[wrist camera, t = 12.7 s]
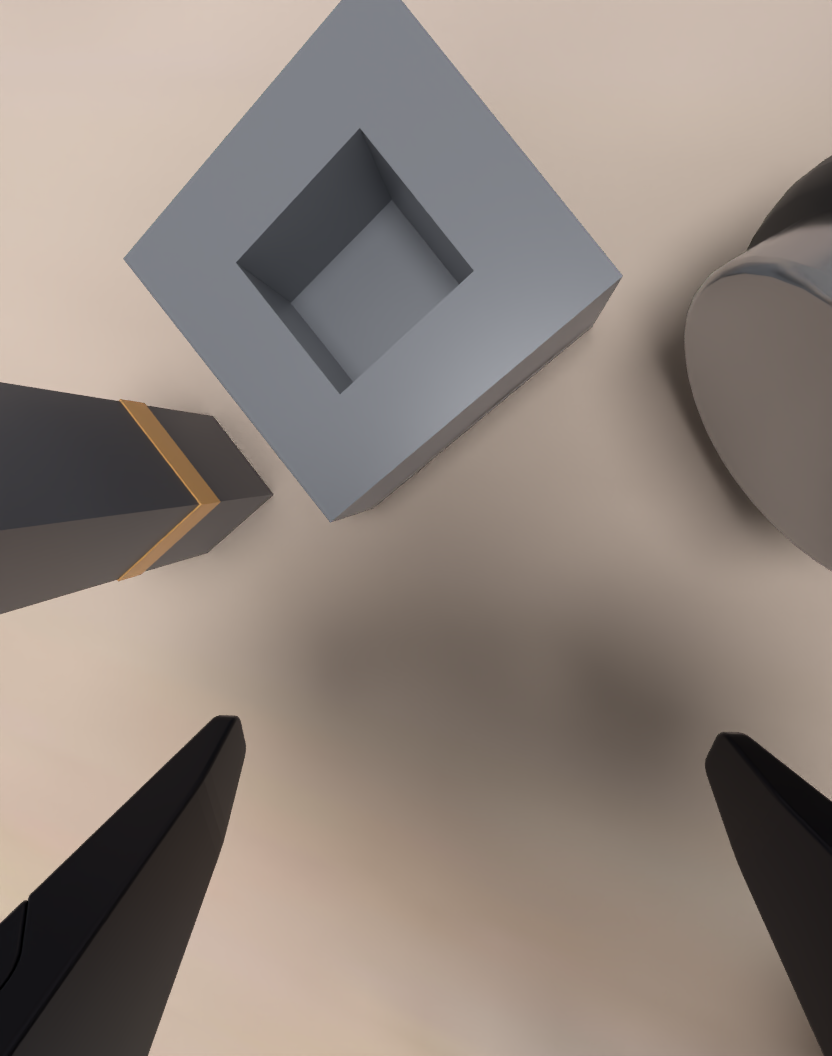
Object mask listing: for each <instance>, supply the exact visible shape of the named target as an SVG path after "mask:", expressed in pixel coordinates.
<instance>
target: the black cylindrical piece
mask: <svg viewBox="0 0 832 1056" xmlns="http://www.w3.org/2000/svg"><path fill="white" fill-rule="evenodd" d="M684 346H685V360H686V366H687V373H688V378H689V382H690V386H691V390H692V393H693V397H694V401H695V404H696V406H697V409H698V412H699V415H700V417H701V420H702V423H703V425H704V427H705V429H706V431H707V433H708V435H709V437H710V440H711V442H712V444H713V446H714V447H715V449H716V451H717V452H718V454H719V456H720V458H721V459H722V461H723V463H724V465H725V466H726V467H727V469H728V470H729V472H730V473H731V475H732V476H733V478H734V479H735V481H736V482H737V484H738V485H739V486H740V487H741V489H742V490H743V491H744V493H745V494H746V495H747V496H748V498H749V499H750V500H751V501H752V503H753V504H754V505H755V506H756V507H757V508H758V509H759V511H760V512H761V513H762V514H763V515H764V516H765V517H766V518H767V519H768V520H769V521H770V523H771V524H772V525H773V526H774V527H776V528H777V529H778V530H779V531H780V532H781V533H782V534H783V535H784V536H785V537H786V538H787V539H789V540H790V541H791V542H792V543H793V544H794V545H795V546H796V547H798V548H799V549H800V550H802V551H803V552H804V553H805V554H807V555H808V556H809V557H811V558H812V559H813V560H815V561H816V562H817V563H819V564H820V565H822V566H824V567H825V568H827V569H829V570H830V571H832V156H830V157H828V158H827V159H825V160H824V161H823V162H821V163H820V164H819V165H818V166H816V167H815V168H814V169H812V170H811V171H810V172H808V173H807V174H806V175H805V176H803V177H802V178H801V179H799V180H798V181H797V182H796V183H795V184H794V185H793V186H792V187H791V188H790V189H789V190H788V191H787V192H786V193H785V194H784V196H783V197H782V198H781V199H780V201H779V202H778V203H777V204H776V205H775V207H774V208H773V209H772V210H771V212H770V213H769V214H768V215H767V217H766V218H765V220H764V222H763V223H762V225H761V226H760V228H759V229H758V231H757V233H756V234H755V236H754V237H753V239H752V241H751V243H750V245H749V247H748V249H747V251H746V252H744V253H743V254H741V255H739V256H737V257H736V258H734V259H732V260H731V261H729V262H727V263H726V264H724V265H723V266H721V267H720V268H718V269H717V270H715V271H714V272H712V273H711V274H710V275H709V276H708V278H707V279H706V280H705V281H704V283H703V284H702V285H701V287H700V288H699V289H698V291H697V292H696V293H695V295H694V297H693V299H692V302H691V304H690V307H689V310H688V312H687V317H686V324H685V331H684Z"/></svg>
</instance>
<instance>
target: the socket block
mask: <svg viewBox="0 0 832 1056" xmlns="http://www.w3.org/2000/svg"><path fill="white" fill-rule="evenodd" d="M123 259H124V260H125V262H126V263H127V264H128V265H129V267H130V268H131V269H132V270H133V272H134V273H135V274H136V276H137V277H138V278H139V279H140V281H141V282H142V283H143V284H144V286H145V287H146V288H147V290H148V291H149V292H150V293H151V295H152V296H153V297H154V298H155V300H156V301H157V302H158V304H159V305H160V306H161V307H162V309H163V310H164V311H165V312H166V314H167V315H168V316H169V318H170V319H171V320H172V321H173V323H174V324H175V325H176V327H177V328H178V329H179V330H180V332H181V333H182V334H183V335H184V337H185V338H186V339H187V341H188V342H189V343H190V344H191V346H192V347H193V348H194V349H195V351H196V352H197V353H198V355H199V356H200V357H201V358H202V360H203V361H204V362H205V363H206V365H207V366H208V367H209V369H210V370H211V371H212V372H213V374H214V375H215V376H216V377H217V379H218V380H219V381H220V383H221V384H222V385H223V386H224V388H225V389H226V390H227V392H228V393H229V394H230V395H231V397H232V398H233V399H234V400H235V402H236V403H237V404H238V406H239V407H240V408H241V409H242V411H243V412H244V413H245V414H246V416H247V417H248V418H249V420H250V421H251V422H252V423H253V425H254V426H255V427H256V428H257V430H258V431H259V432H260V434H261V435H262V436H263V437H264V439H265V440H266V441H267V442H268V444H269V445H270V446H271V448H272V449H273V450H274V451H275V453H276V454H277V455H278V457H279V458H280V459H281V460H282V462H283V463H284V464H285V465H286V467H287V468H288V469H289V471H290V472H291V473H292V474H293V476H294V477H295V478H296V479H297V481H298V482H299V483H300V485H301V486H302V487H303V488H304V490H305V491H306V492H307V493H308V495H309V496H310V497H311V499H312V500H313V501H314V502H315V504H316V505H317V506H318V508H319V509H320V510H321V511H322V513H323V514H324V515H325V516H326V518H327V519H328V520H329V522H333V521H336V520H339V519H342V518H345V517H348V516H351V515H354V514H357V513H360V512H363V511H366V510H369V509H372V508H374V507H375V506H376V505H377V504H379V503H380V502H381V501H382V500H383V499H385V498H386V497H387V496H388V495H390V494H391V493H392V492H393V491H394V490H396V489H397V488H398V487H399V486H400V485H402V484H403V483H404V482H405V481H406V480H408V479H409V478H410V477H411V476H412V475H414V474H415V473H416V472H417V471H419V470H420V469H421V468H422V467H423V466H425V465H426V464H427V463H428V462H429V461H431V460H432V459H433V458H434V457H435V456H437V455H438V454H439V453H440V452H441V451H443V450H444V449H445V448H446V447H447V446H449V445H450V444H451V443H452V442H454V441H455V440H456V439H457V438H458V437H460V436H461V435H462V434H463V433H464V432H466V431H467V430H468V429H469V428H470V427H472V426H473V425H474V424H475V423H476V422H478V421H479V420H480V419H481V418H482V417H484V416H485V415H486V414H487V413H489V412H490V411H491V410H492V409H493V408H495V407H496V406H497V405H498V404H499V403H501V402H502V401H503V400H504V399H505V398H507V397H508V396H509V395H510V394H511V393H513V392H514V391H515V390H516V389H518V388H519V387H520V386H521V385H522V384H524V383H525V382H526V381H527V380H528V379H530V378H531V377H532V376H533V375H534V374H536V373H537V372H538V371H539V370H540V369H542V368H543V367H544V366H545V365H546V364H548V363H549V362H550V361H551V360H553V359H554V358H555V357H556V356H557V355H559V354H560V353H561V352H562V351H563V350H565V349H566V348H567V347H568V346H569V345H571V344H572V343H573V342H574V341H575V340H577V339H578V338H579V337H580V336H581V335H583V334H584V333H585V332H586V331H588V330H589V329H590V328H591V327H592V326H593V324H594V323H595V321H596V319H597V318H598V316H599V314H600V313H601V311H602V310H603V308H604V306H605V305H606V303H607V301H608V300H609V298H610V296H611V295H612V293H613V291H614V290H615V288H616V286H617V285H618V283H619V282H620V280H621V278H622V277H623V276H622V274H621V273H620V272H619V271H618V269H617V268H616V267H615V266H614V264H613V263H612V262H611V261H610V259H609V258H608V257H607V256H606V254H605V253H604V252H603V251H602V249H601V248H600V247H599V246H598V244H597V243H596V242H595V241H594V239H593V238H592V237H591V236H590V234H589V233H588V232H587V231H586V229H585V228H584V227H583V226H582V224H581V223H580V222H579V221H578V219H577V218H576V217H575V216H574V215H573V213H572V212H571V211H570V210H569V208H568V207H567V206H566V205H565V203H564V202H563V201H562V200H561V198H560V197H559V196H558V195H557V193H556V192H555V191H554V190H553V188H552V187H551V186H550V185H549V183H548V182H547V181H546V180H545V178H544V177H543V176H542V175H541V173H540V172H539V171H538V170H537V168H536V167H535V166H534V165H533V163H532V162H531V161H530V160H529V158H528V157H527V156H526V155H525V153H524V152H523V151H522V150H521V149H520V147H519V146H518V145H517V144H516V142H515V141H514V140H513V139H512V137H511V136H510V135H509V134H508V132H507V131H506V130H505V129H504V127H503V126H502V125H501V124H500V122H499V121H498V120H497V119H496V117H495V116H494V115H493V114H492V112H491V111H490V110H489V109H488V107H487V106H486V105H485V104H484V102H483V101H482V100H481V99H480V97H479V96H478V95H477V94H476V92H475V91H474V90H473V89H472V87H471V86H470V85H469V84H468V83H467V81H466V80H465V79H464V78H463V76H462V75H461V74H460V73H459V71H458V70H457V69H456V68H455V66H454V65H453V64H452V63H451V61H450V60H449V59H448V58H447V56H446V55H445V54H444V53H443V51H442V50H441V49H440V48H439V46H438V45H437V44H436V43H435V41H434V40H433V39H432V38H431V36H430V35H429V34H428V33H427V31H426V30H425V29H424V28H423V26H422V25H421V24H420V23H419V21H418V20H417V19H416V18H415V17H414V15H413V14H412V13H411V12H410V10H409V9H408V8H407V7H406V5H405V4H404V3H403V2H402V0H341V1H340V3H339V4H338V5H337V6H336V7H335V9H334V10H333V11H332V12H331V13H330V14H329V16H328V17H327V18H326V19H325V20H324V22H323V23H322V24H321V25H320V26H319V28H318V29H317V30H316V31H315V32H314V33H313V35H312V36H311V37H310V38H309V39H308V41H307V42H306V43H305V44H304V45H303V46H302V48H301V49H300V50H299V51H298V52H297V54H296V55H295V56H294V57H293V58H292V59H291V61H290V62H289V63H288V64H287V65H286V67H285V68H284V69H283V70H282V71H281V73H280V74H279V75H278V76H277V77H276V78H275V80H274V81H273V82H272V83H271V84H270V86H269V87H268V88H267V89H266V90H265V91H264V93H263V94H262V95H261V96H260V97H259V99H258V100H257V101H256V102H255V103H254V104H253V106H252V107H251V108H250V109H249V110H248V112H247V113H246V114H245V115H244V116H243V118H242V119H241V120H240V121H239V122H238V123H237V125H236V126H235V127H234V128H233V129H232V131H231V132H230V133H229V134H228V135H227V136H226V138H225V139H224V140H223V141H222V142H221V144H220V145H219V146H218V147H217V148H216V149H215V151H214V152H213V153H212V154H211V155H210V157H209V158H208V159H207V160H206V161H205V163H204V164H203V165H202V166H201V167H200V168H199V170H198V171H197V172H196V173H195V174H194V176H193V177H192V178H191V179H190V180H189V181H188V183H187V184H186V185H185V186H184V187H183V189H182V190H181V191H180V192H179V193H178V195H177V196H176V197H175V198H174V199H173V200H172V202H171V203H170V204H169V205H168V206H167V208H166V209H165V210H164V211H163V212H162V213H161V215H160V216H159V217H158V218H157V219H156V221H155V222H154V223H153V224H152V225H151V226H150V228H149V229H148V230H147V231H146V232H145V234H144V235H143V236H142V237H141V238H140V240H139V241H138V242H137V243H136V244H135V245H134V247H133V248H132V249H131V250H130V251H129V253H128V254H127V255H126V256H125V257H124V258H123Z"/></svg>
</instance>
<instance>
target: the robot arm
mask: <svg viewBox="0 0 832 1056" xmlns="http://www.w3.org/2000/svg"><path fill="white" fill-rule="evenodd" d="M245 752H246V743H245V739H244V734H243V730H242V725H241V721H240V719H239V717H238V716H230V715H219V716H216V717H214V718H213V719H212V720H211V721H210V722H209V723H208V724H207V725H206V726H205V727H203V728H202V729H201V730H200V731H199V732H198V733H197V734H196V735H195V736H194V737H193V738H192V739H191V740H190V741H189V742H188V743H187V744H186V745H185V746H184V747H183V748H182V749H181V750H180V751H179V752H178V753H177V754H175V755H174V756H173V757H172V758H171V759H170V760H169V761H168V762H167V763H166V764H165V765H164V766H163V767H162V768H161V769H160V770H159V771H158V772H157V773H156V774H155V775H154V776H153V777H152V778H151V779H150V780H148V781H147V782H146V783H145V784H144V785H143V786H142V787H141V788H140V789H139V790H138V791H137V792H136V793H135V794H134V795H133V796H132V797H131V798H130V799H129V800H128V801H127V802H126V803H125V804H124V805H123V806H122V807H120V808H119V809H118V810H117V811H116V812H115V813H114V814H113V815H112V816H111V817H110V818H109V819H108V820H107V821H106V822H105V823H104V824H103V825H102V826H101V827H100V828H99V829H98V830H97V831H96V832H95V833H94V834H92V835H91V836H90V837H89V838H88V839H87V840H86V841H85V842H84V843H83V844H82V845H81V846H80V847H79V848H78V849H77V850H76V851H75V852H74V853H73V854H72V855H71V856H70V857H69V858H68V859H67V860H65V861H64V862H63V863H62V864H61V865H60V866H59V867H58V868H57V869H56V870H55V871H54V872H53V873H52V874H51V875H50V876H49V877H48V878H47V879H46V880H45V881H44V882H43V883H42V884H41V885H40V886H39V887H37V888H36V889H35V890H34V891H33V892H32V893H31V894H30V895H29V898H28V901H27V900H25V901H23V902H22V903H21V904H20V905H19V906H17V907H16V908H15V909H14V910H13V911H12V912H11V913H10V914H9V915H8V916H7V917H6V918H5V919H4V920H3V921H2V922H1V923H0V1056H148V1054H149V1051H150V1048H151V1045H152V1042H153V1040H154V1037H155V1034H156V1031H157V1028H158V1026H159V1023H160V1020H161V1017H162V1014H163V1012H164V1009H165V1006H166V1003H167V1000H168V997H169V995H170V992H171V989H172V986H173V983H174V981H175V978H176V975H177V972H178V969H179V967H180V964H181V961H182V958H183V955H184V953H185V950H186V947H187V944H188V941H189V939H190V936H191V933H192V930H193V927H194V925H195V922H196V919H197V916H198V913H199V910H200V908H201V905H202V902H203V899H204V896H205V894H206V891H207V888H208V885H209V882H210V880H211V877H212V874H213V871H214V868H215V866H216V863H217V860H218V857H219V854H220V851H221V848H222V845H223V842H224V838H225V834H226V830H227V827H228V823H229V819H230V814H231V810H232V806H233V802H234V798H235V794H236V790H237V786H238V782H239V778H240V774H241V770H242V766H243V762H244V758H245ZM705 769H706V774H707V777H708V780H709V783H710V785H711V788H712V791H713V794H714V797H715V800H716V803H717V806H718V809H719V812H720V815H721V817H722V820H723V823H724V826H725V829H726V832H727V835H728V838H729V841H730V844H731V847H732V849H733V852H734V855H735V857H736V860H737V862H738V865H739V867H740V869H741V872H742V874H743V876H744V879H745V881H746V883H747V885H748V888H749V890H750V892H751V894H752V896H753V899H754V901H755V903H756V905H757V908H758V910H759V912H760V914H761V917H762V919H763V921H764V923H765V926H766V928H767V930H768V932H769V934H770V937H771V939H772V941H773V943H774V946H775V948H776V950H777V952H778V955H779V957H780V959H781V961H782V963H783V966H784V968H785V970H786V972H787V975H788V977H789V979H790V981H791V984H792V986H793V988H794V990H795V992H796V995H797V997H798V999H799V1001H800V1004H801V1006H802V1008H803V1010H804V1013H805V1015H806V1017H807V1019H808V1021H809V1024H810V1026H811V1028H812V1030H813V1033H814V1035H815V1037H816V1039H817V1042H818V1044H819V1046H820V1048H821V1050H822V1053H823V1055H824V1056H832V801H830V800H829V799H828V798H827V797H825V796H824V795H823V794H822V793H820V792H819V791H818V790H816V789H815V788H814V787H813V786H811V785H810V784H809V783H808V782H806V781H805V780H804V779H802V778H801V777H800V776H799V775H797V774H796V773H795V772H794V771H792V770H791V769H790V768H788V767H787V766H786V765H785V764H783V763H782V762H781V761H780V760H778V759H777V758H776V757H774V756H773V755H772V754H771V753H769V752H768V751H767V750H766V749H764V748H763V747H762V746H760V745H759V744H758V743H757V742H755V741H754V740H753V739H751V738H750V737H749V736H747V735H745V734H743V733H737V732H721V733H720V734H718V735H717V737H716V739H715V741H714V743H713V745H712V747H711V749H710V751H709V753H708V755H707V757H706V760H705Z"/></svg>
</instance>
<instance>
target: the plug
mask: <svg viewBox="0 0 832 1056" xmlns="http://www.w3.org/2000/svg"><path fill="white" fill-rule="evenodd" d="M272 495H273V493H272V492H271V491H270V490H269V488H268V487H267V486H266V484H265V483H264V482H263V480H262V479H261V478H260V477H259V475H258V474H257V473H256V471H255V470H254V469H253V468H252V466H251V465H250V464H249V462H248V461H247V460H246V458H245V457H244V456H243V455H242V453H241V452H240V451H239V449H238V448H237V447H236V446H235V444H234V443H233V442H232V440H231V439H230V438H229V436H228V435H227V434H226V433H225V431H224V430H223V429H222V427H221V426H220V425H219V424H218V422H217V421H216V420H215V418H214V417H213V416H208V415H202V414H195V413H189V412H183V411H177V410H170V409H164V408H158V407H152V406H147V405H146V404H145V403H141V402H135V401H128V400H122V399H120V400H119V401H114V400H108V399H101V398H95V397H89V396H83V395H76V394H70V393H64V392H58V391H51V390H45V389H39V388H32V387H26V386H20V385H14V384H7V383H1V382H0V614H3V613H6V612H9V611H13V610H16V609H19V608H23V607H26V606H30V605H33V604H36V603H40V602H43V601H46V600H50V599H53V598H57V597H60V596H63V595H67V594H70V593H74V592H77V591H80V590H84V589H87V588H90V587H94V586H97V585H101V584H104V583H107V582H111V581H114V580H118V581H121V580H124V579H128V578H131V577H134V576H138V575H141V574H142V573H143V572H144V571H148V570H151V569H155V568H158V567H161V566H165V565H168V564H172V563H175V562H178V561H182V560H185V559H188V558H192V557H195V556H199V555H202V554H205V553H208V552H209V551H210V550H211V549H212V548H213V547H214V546H216V545H217V544H218V543H219V542H220V541H221V540H222V539H224V538H225V537H226V536H227V535H228V534H229V533H230V532H231V531H233V530H234V529H235V528H236V527H237V526H238V525H239V524H241V523H242V522H243V521H244V520H245V519H246V518H247V517H248V516H250V515H251V514H252V513H253V512H254V511H255V510H256V509H258V508H259V507H260V506H261V505H262V504H263V503H264V502H265V501H267V500H268V499H269V498H270V497H271V496H272Z"/></svg>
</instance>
